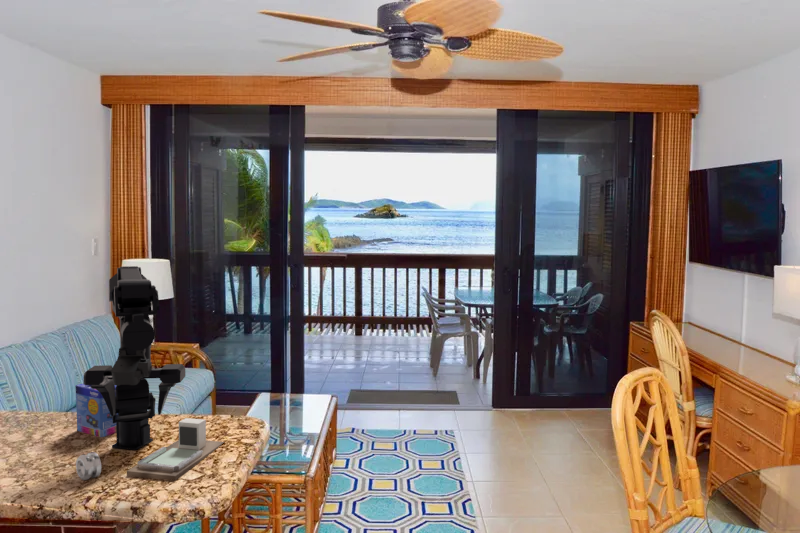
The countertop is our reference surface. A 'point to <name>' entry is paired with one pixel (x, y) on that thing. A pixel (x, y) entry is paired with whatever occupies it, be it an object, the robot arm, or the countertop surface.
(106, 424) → the ink cartridge box
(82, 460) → the metal grooved wheel
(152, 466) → the rail guides
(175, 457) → the rail board
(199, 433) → the block
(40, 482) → the countertop surface
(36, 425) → the countertop surface
